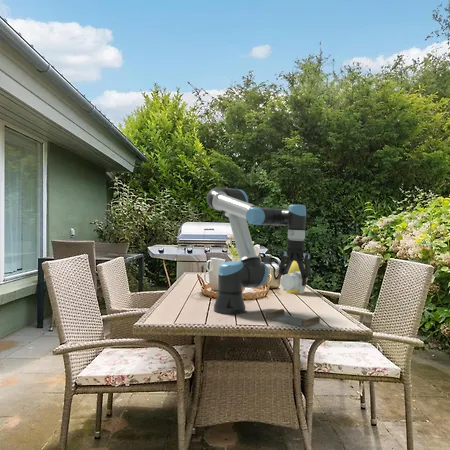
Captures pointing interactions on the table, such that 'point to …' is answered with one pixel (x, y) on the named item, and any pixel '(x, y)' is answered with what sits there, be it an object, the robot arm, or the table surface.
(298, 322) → the drying mat
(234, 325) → the table surface
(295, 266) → the vase
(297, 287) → the white cup
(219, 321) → the table surface
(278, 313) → the mat rails
